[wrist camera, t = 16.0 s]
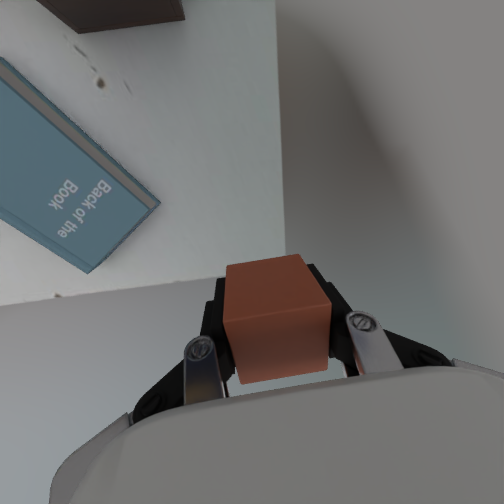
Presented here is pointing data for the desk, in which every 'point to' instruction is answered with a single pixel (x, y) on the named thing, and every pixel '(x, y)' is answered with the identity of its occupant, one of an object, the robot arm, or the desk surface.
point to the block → (276, 319)
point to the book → (62, 179)
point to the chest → (113, 13)
